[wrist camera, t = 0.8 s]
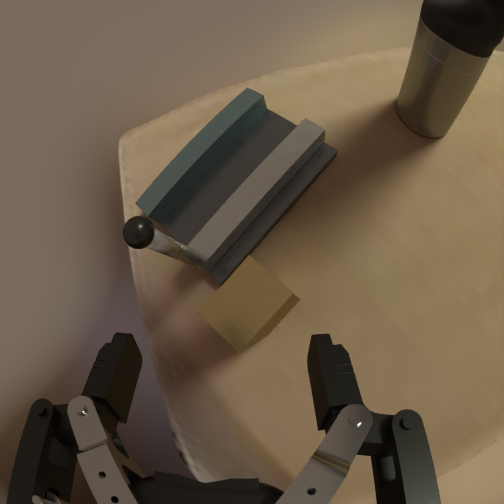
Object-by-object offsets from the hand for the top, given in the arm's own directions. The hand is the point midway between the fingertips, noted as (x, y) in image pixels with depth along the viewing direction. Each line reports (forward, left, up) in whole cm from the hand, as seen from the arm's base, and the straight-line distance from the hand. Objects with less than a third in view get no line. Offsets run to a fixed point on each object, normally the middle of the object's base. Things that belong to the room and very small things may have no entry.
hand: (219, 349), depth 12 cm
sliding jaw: (-10, -11, -20) cm, 25 cm away
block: (-1, -2, -21) cm, 21 cm away
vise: (-10, -17, -21) cm, 29 cm away
